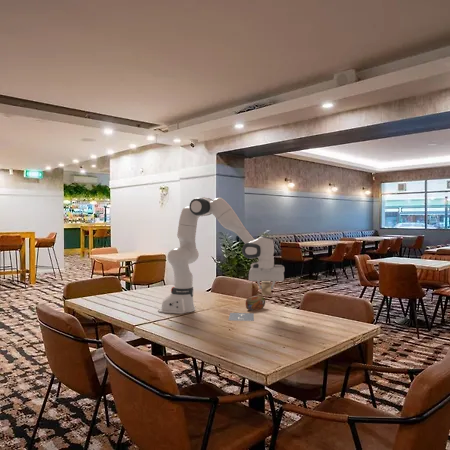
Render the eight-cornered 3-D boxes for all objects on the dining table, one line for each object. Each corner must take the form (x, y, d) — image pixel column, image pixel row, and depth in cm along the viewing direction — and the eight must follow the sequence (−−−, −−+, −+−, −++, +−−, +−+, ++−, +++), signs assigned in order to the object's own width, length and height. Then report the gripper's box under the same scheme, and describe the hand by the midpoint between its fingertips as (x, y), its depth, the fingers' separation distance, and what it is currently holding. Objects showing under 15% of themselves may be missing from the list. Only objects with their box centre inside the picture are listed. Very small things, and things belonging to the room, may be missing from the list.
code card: (228, 320, 223) (228, 320, 223) (230, 313, 241) (230, 312, 241) (253, 321, 222) (253, 320, 222) (253, 313, 240) (253, 313, 240)
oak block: (262, 294, 224) (262, 284, 224) (261, 291, 236) (261, 280, 236) (271, 294, 224) (271, 284, 224) (270, 291, 236) (270, 280, 236)
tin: (248, 311, 245) (248, 297, 245) (244, 310, 247) (244, 297, 247) (265, 308, 254) (265, 295, 254) (262, 307, 257) (262, 294, 257)
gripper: (284, 264, 233) (284, 288, 233) (248, 263, 234) (248, 287, 234) (285, 265, 226) (284, 290, 226) (248, 265, 228) (248, 289, 228)
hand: (266, 288), depth 230 cm, fingers closed on oak block, 5 cm apart
